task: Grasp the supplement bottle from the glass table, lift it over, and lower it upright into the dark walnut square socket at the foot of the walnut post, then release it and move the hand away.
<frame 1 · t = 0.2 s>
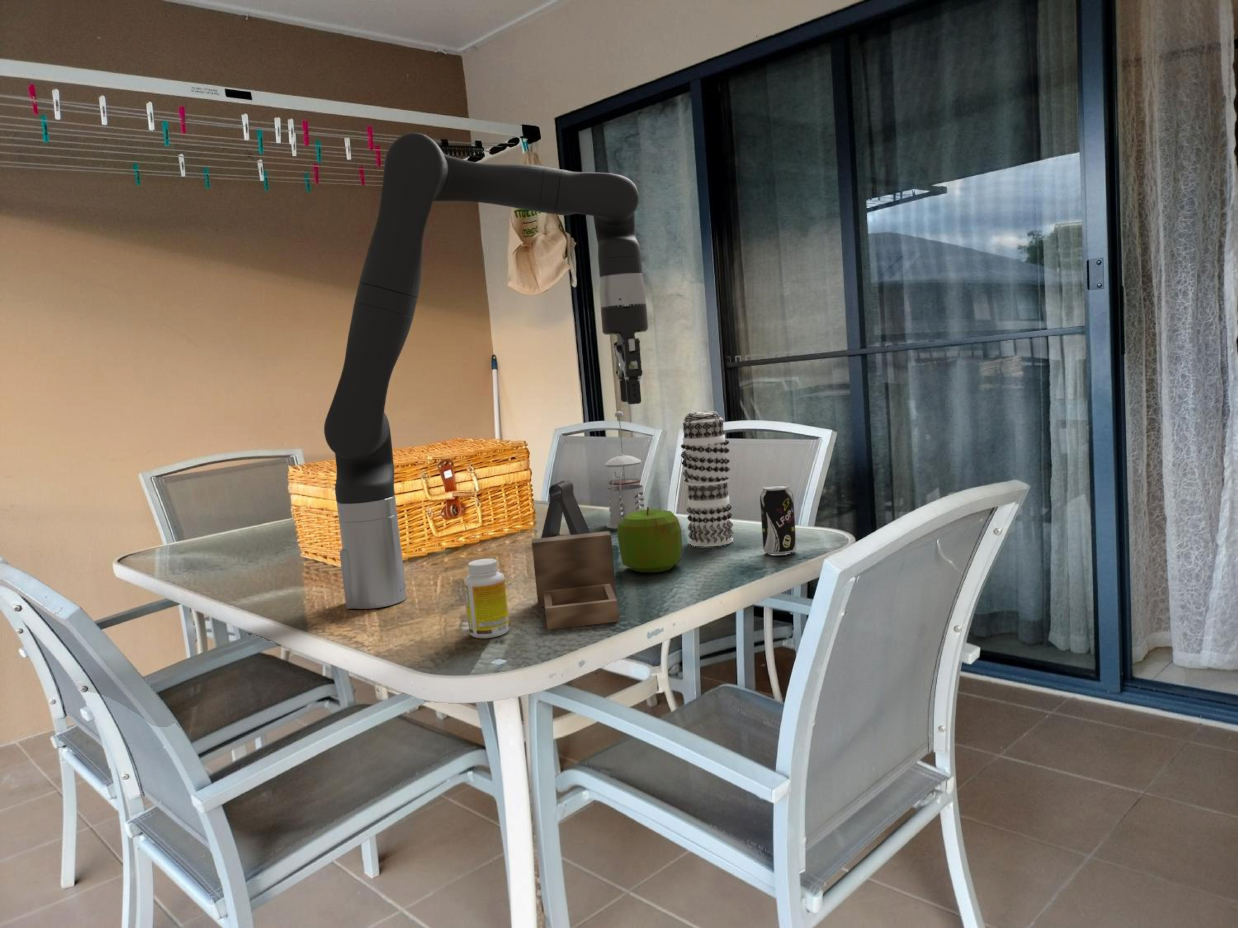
hand: (630, 402, 149), 29 cm above the table, tool pointing down, fingers open, 8 cm apart
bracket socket: (580, 615, 130), on the table
apple: (652, 570, 155), on the table
decorative candle: (711, 543, 172), on the table
supplement bottle: (490, 634, 126), on the table
beverage can: (780, 554, 158), on the table
phone stand: (566, 540, 187), on the table
french press: (627, 525, 198), on the table
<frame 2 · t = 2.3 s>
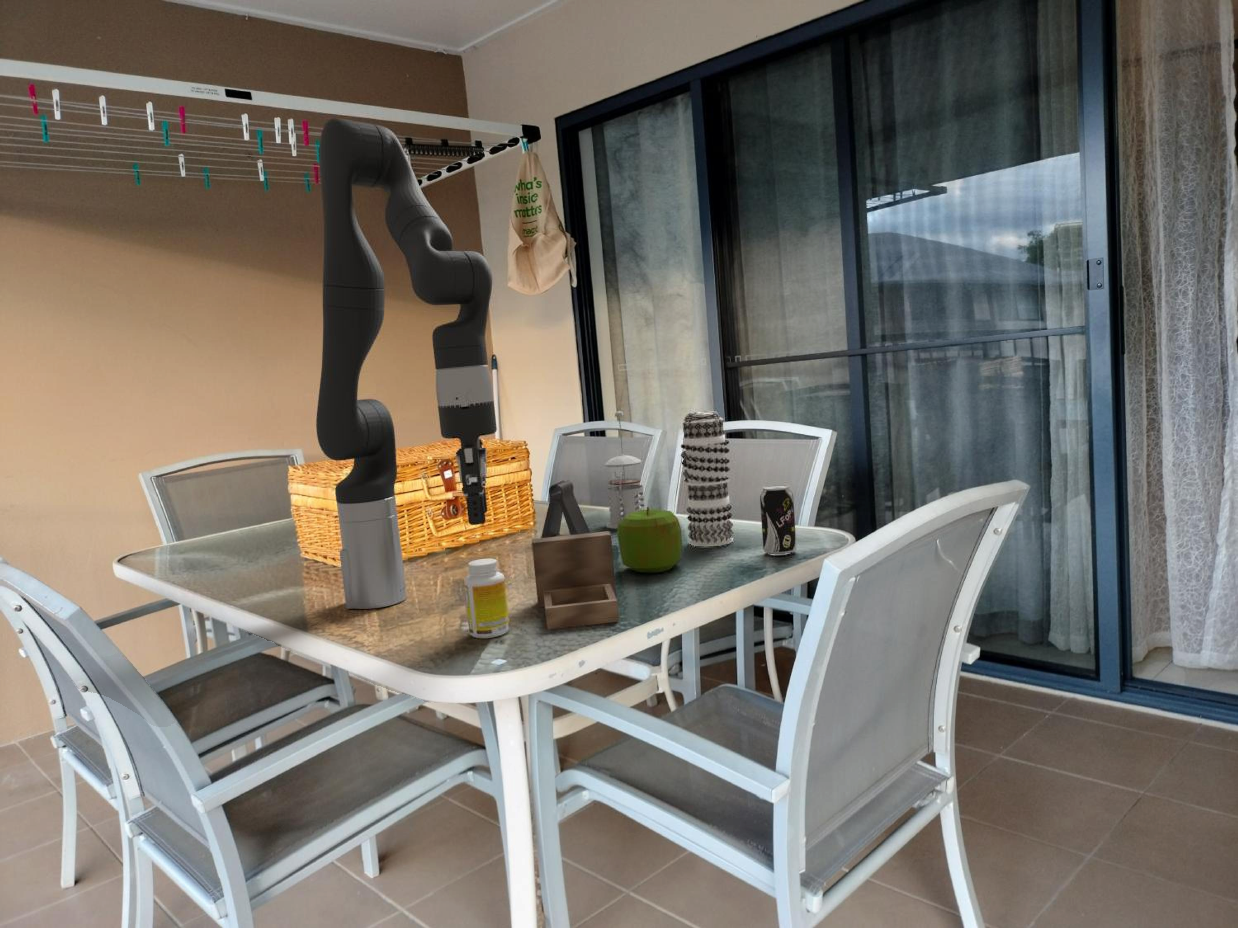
hand: (478, 518, 124), 16 cm above the table, tool pointing down, fingers open, 8 cm apart
nothing on the table moved.
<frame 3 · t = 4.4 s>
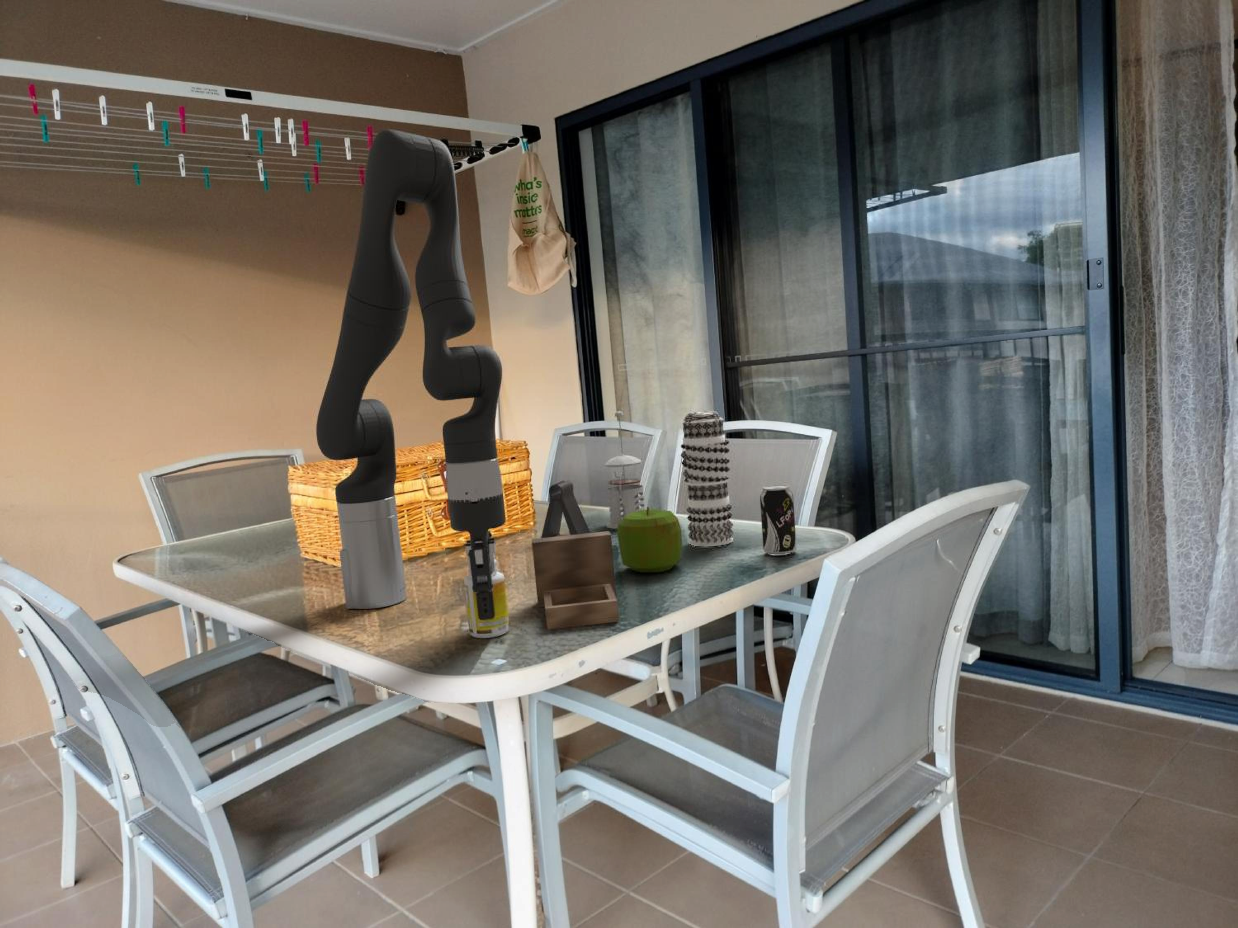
hand: (487, 612, 125), 3 cm above the table, tool pointing down, fingers closed on supplement bottle, 5 cm apart
supplement bottle: (490, 634, 126), on the table, touching gripper
everything else where it was.
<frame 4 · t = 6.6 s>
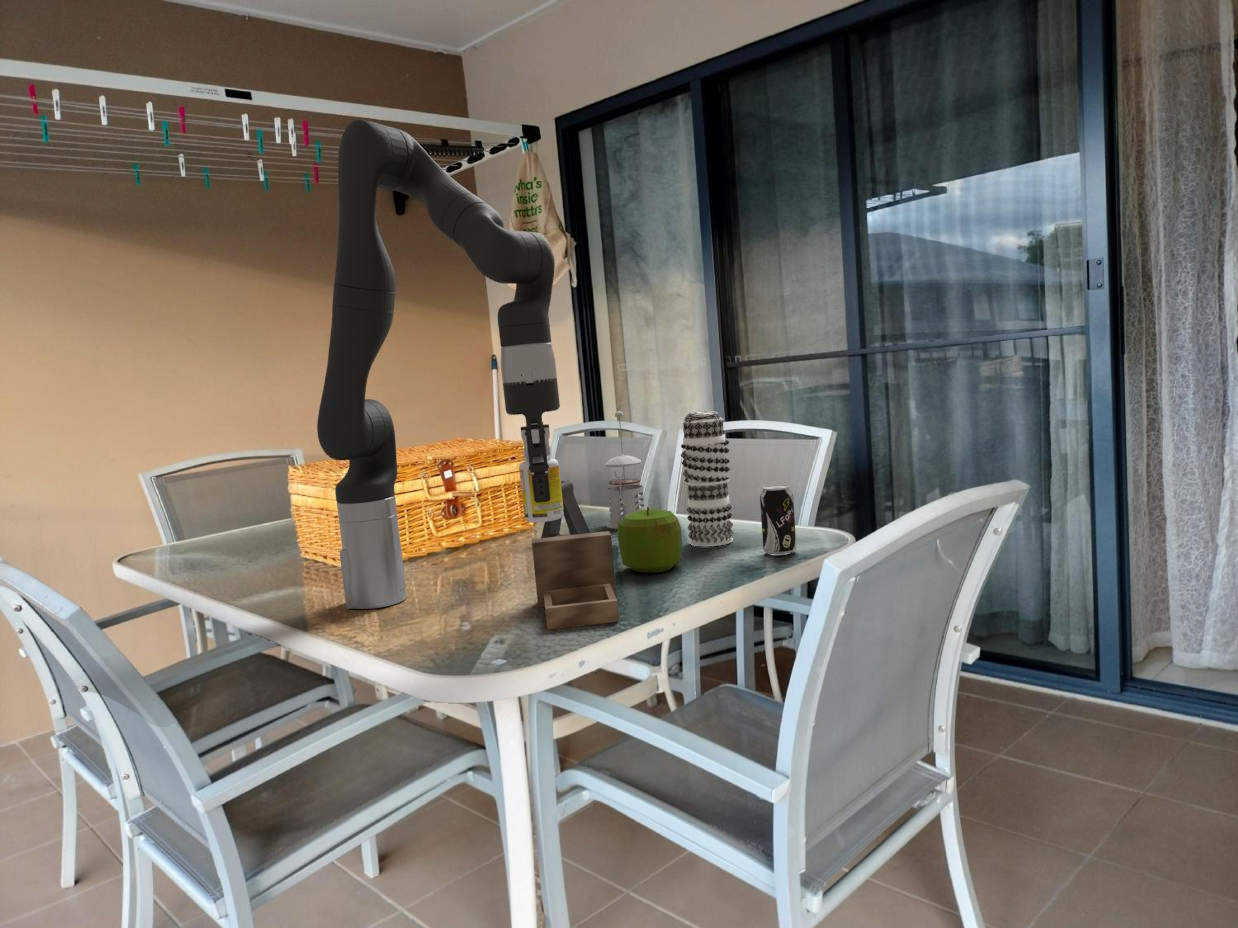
hand: (542, 498, 126), 18 cm above the table, tool pointing down, fingers closed on supplement bottle, 5 cm apart
supplement bottle: (544, 520, 127), point 15 cm above the table, touching gripper
everything else where it was.
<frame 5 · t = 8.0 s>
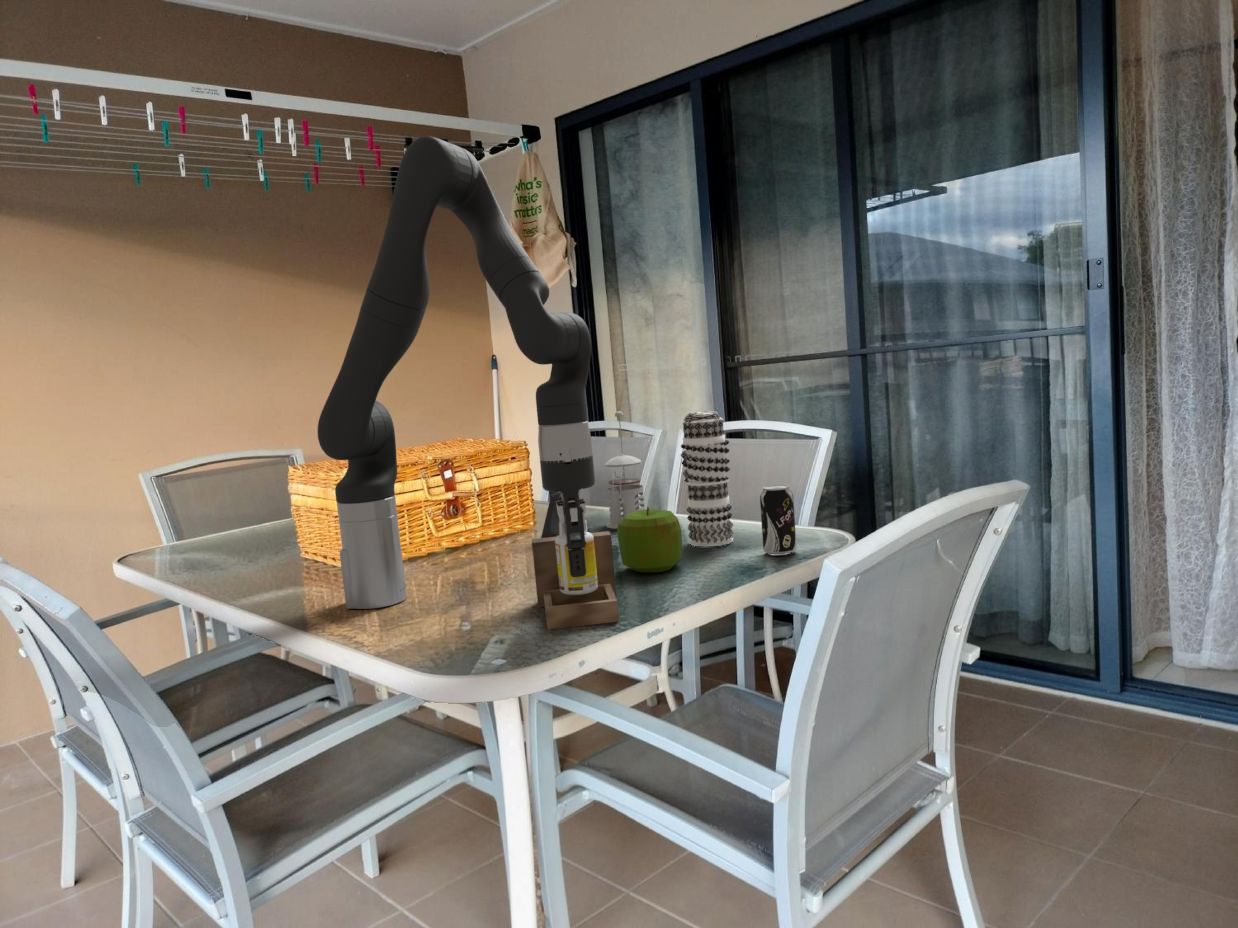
hand: (576, 570, 130), 7 cm above the table, tool pointing down, fingers closed on supplement bottle, 5 cm apart
supplement bottle: (579, 592, 130), point 3 cm above the table, touching gripper
everything else where it was.
when the fingers open (4 cm above the table, at t = 8.9 s): supplement bottle drops 1 cm, resting in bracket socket.
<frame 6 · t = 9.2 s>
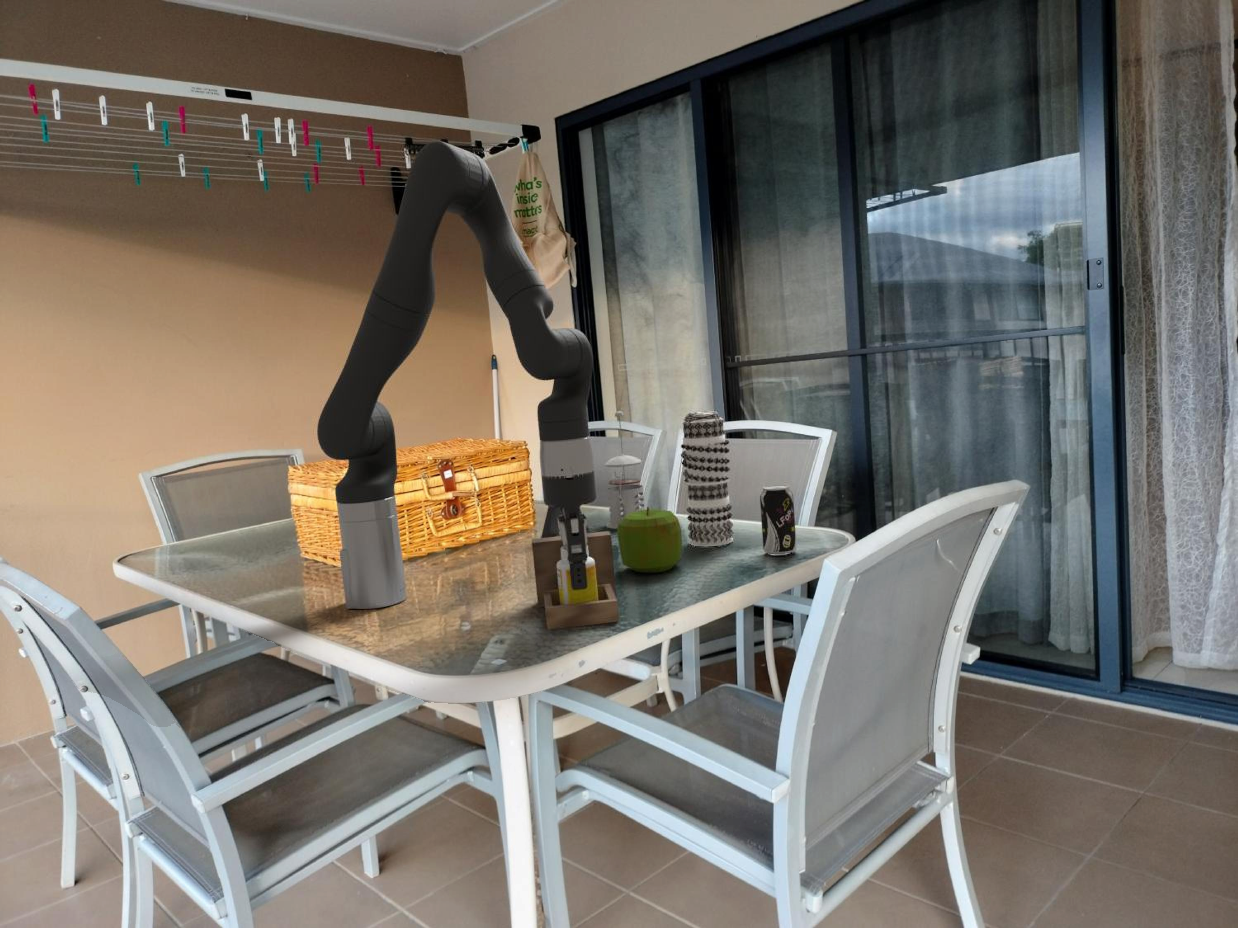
hand: (577, 581, 130), 5 cm above the table, tool pointing down, fingers open, 8 cm apart
supplement bottle: (580, 616, 130), resting in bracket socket
everything else where it was.
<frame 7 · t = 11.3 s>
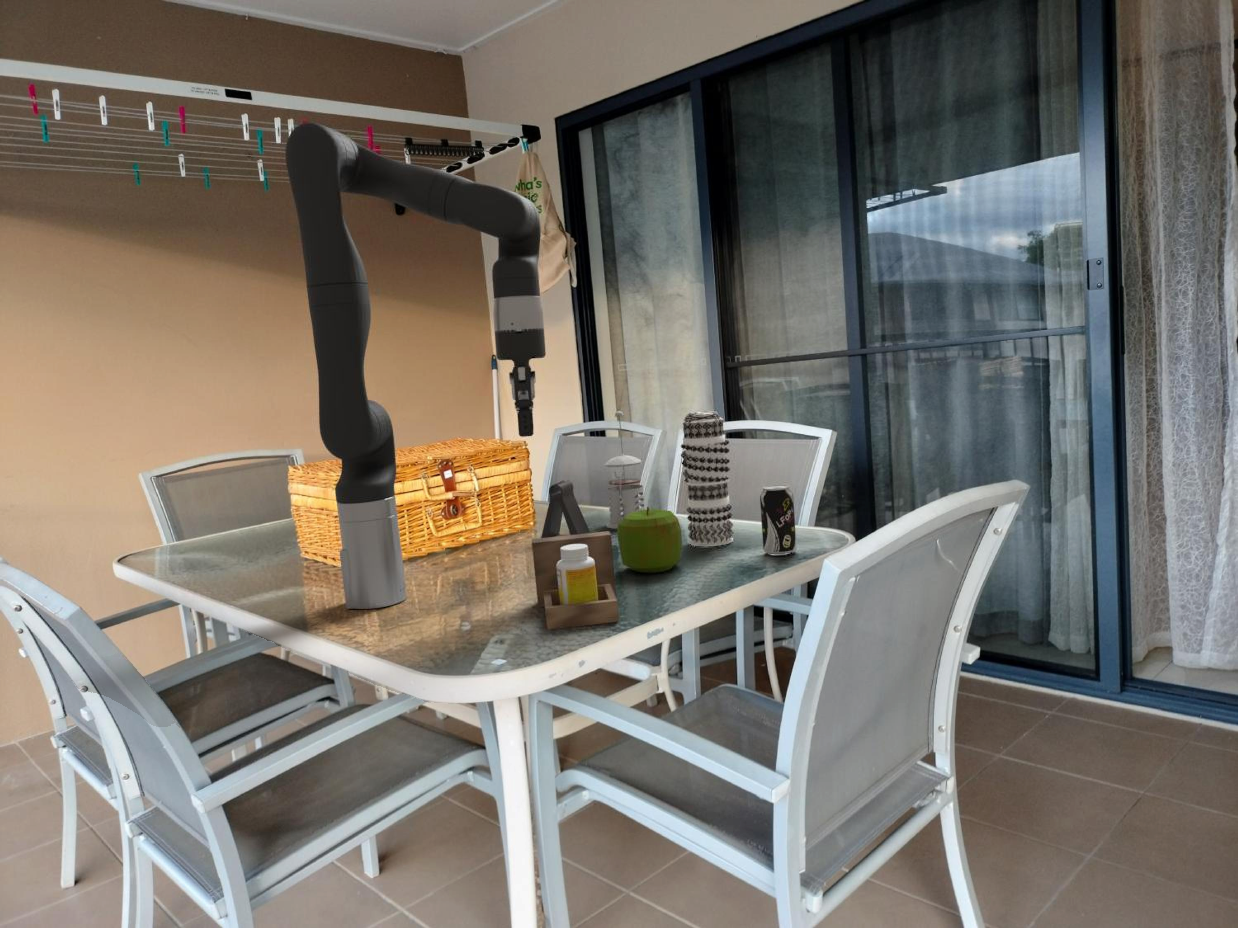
hand: (526, 433, 139), 26 cm above the table, tool pointing down, fingers open, 8 cm apart
nothing on the table moved.
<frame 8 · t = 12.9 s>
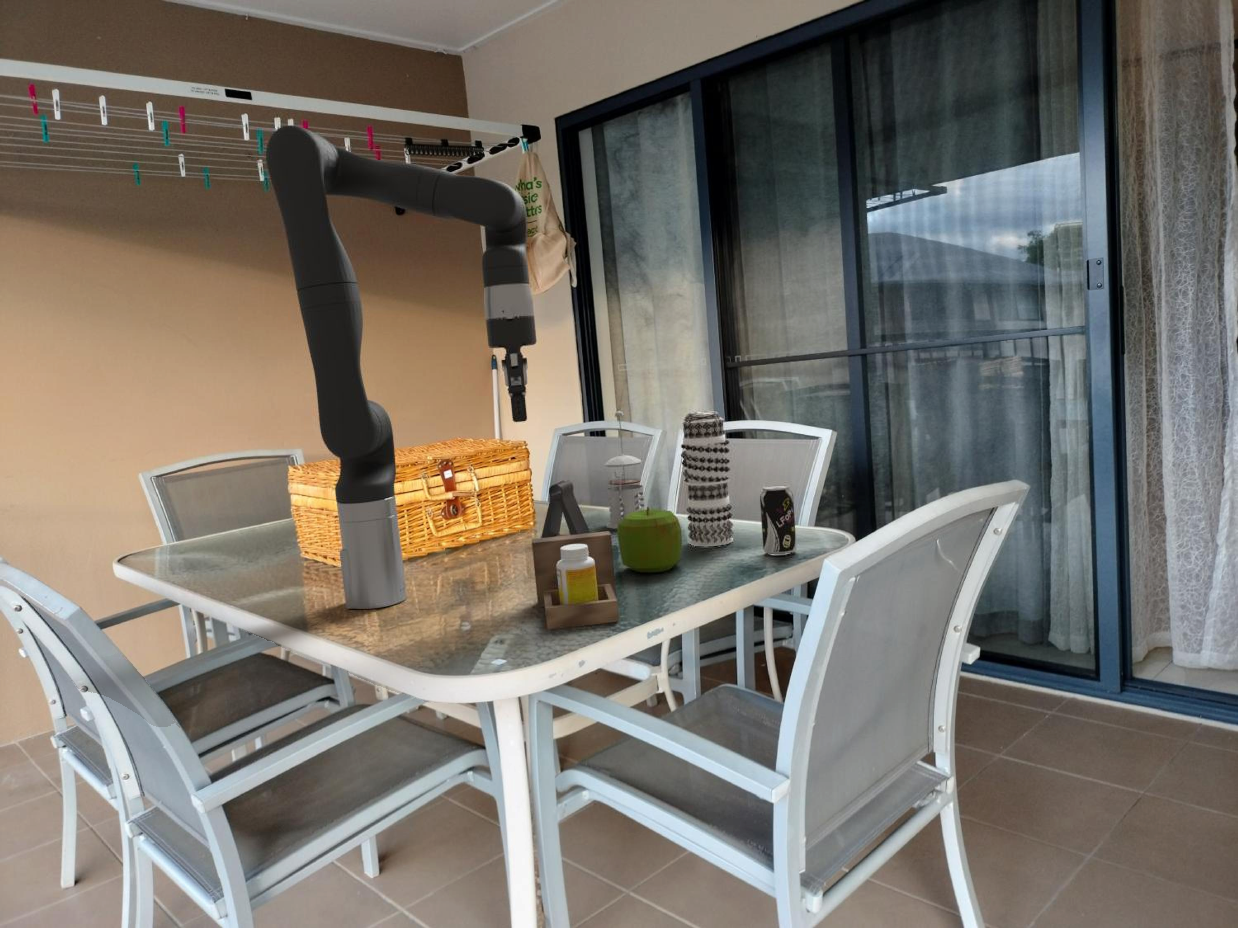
hand: (519, 419, 142), 28 cm above the table, tool pointing down, fingers open, 8 cm apart
nothing on the table moved.
at the end: supplement bottle 0.1 cm off-centre on the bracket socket, point 0.0 cm above the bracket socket's base; supplement bottle tilted 0°; the gripper is holding nothing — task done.
